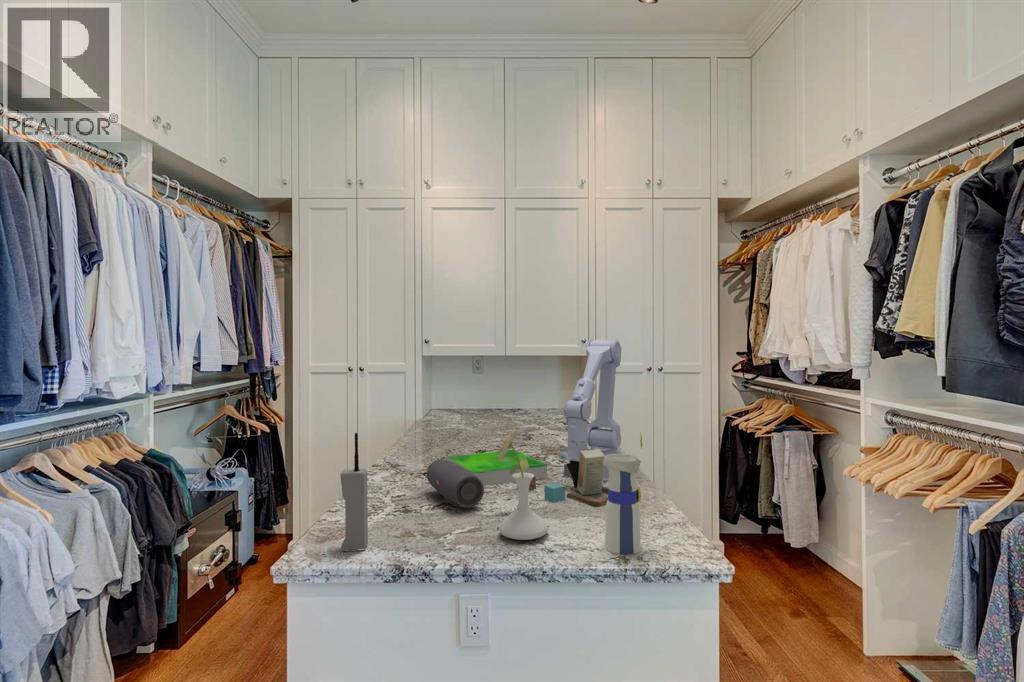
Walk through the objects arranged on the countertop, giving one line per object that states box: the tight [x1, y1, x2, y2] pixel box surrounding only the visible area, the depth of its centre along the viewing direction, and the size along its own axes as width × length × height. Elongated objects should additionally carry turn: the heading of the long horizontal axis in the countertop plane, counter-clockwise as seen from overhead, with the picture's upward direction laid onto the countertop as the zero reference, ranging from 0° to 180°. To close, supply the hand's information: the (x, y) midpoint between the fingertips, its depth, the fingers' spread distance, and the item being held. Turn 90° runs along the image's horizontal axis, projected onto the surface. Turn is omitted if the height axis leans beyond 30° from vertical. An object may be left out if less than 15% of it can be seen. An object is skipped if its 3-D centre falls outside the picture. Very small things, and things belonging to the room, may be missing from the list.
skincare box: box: [576, 449, 605, 496], centre depth 158 cm, size 6×4×12 cm
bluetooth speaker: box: [426, 458, 485, 508], centre depth 153 cm, size 23×9×10 cm, turn 27°
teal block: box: [543, 482, 566, 504], centre depth 154 cm, size 4×4×4 cm
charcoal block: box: [563, 463, 572, 479], centre depth 179 cm, size 4×4×4 cm
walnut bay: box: [566, 485, 608, 508], centre depth 155 cm, size 13×12×1 cm
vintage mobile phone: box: [339, 432, 369, 551], centre depth 120 cm, size 4×5×25 cm
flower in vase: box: [497, 428, 549, 541], centre depth 126 cm, size 13×11×25 cm
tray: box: [447, 449, 548, 487], centre depth 183 cm, size 25×25×5 cm
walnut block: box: [529, 476, 537, 491], centre depth 164 cm, size 4×4×4 cm
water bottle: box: [603, 432, 643, 555], centre depth 119 cm, size 8×9×25 cm
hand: (577, 487), depth 162 cm, fingers closed, pressing on skincare box
